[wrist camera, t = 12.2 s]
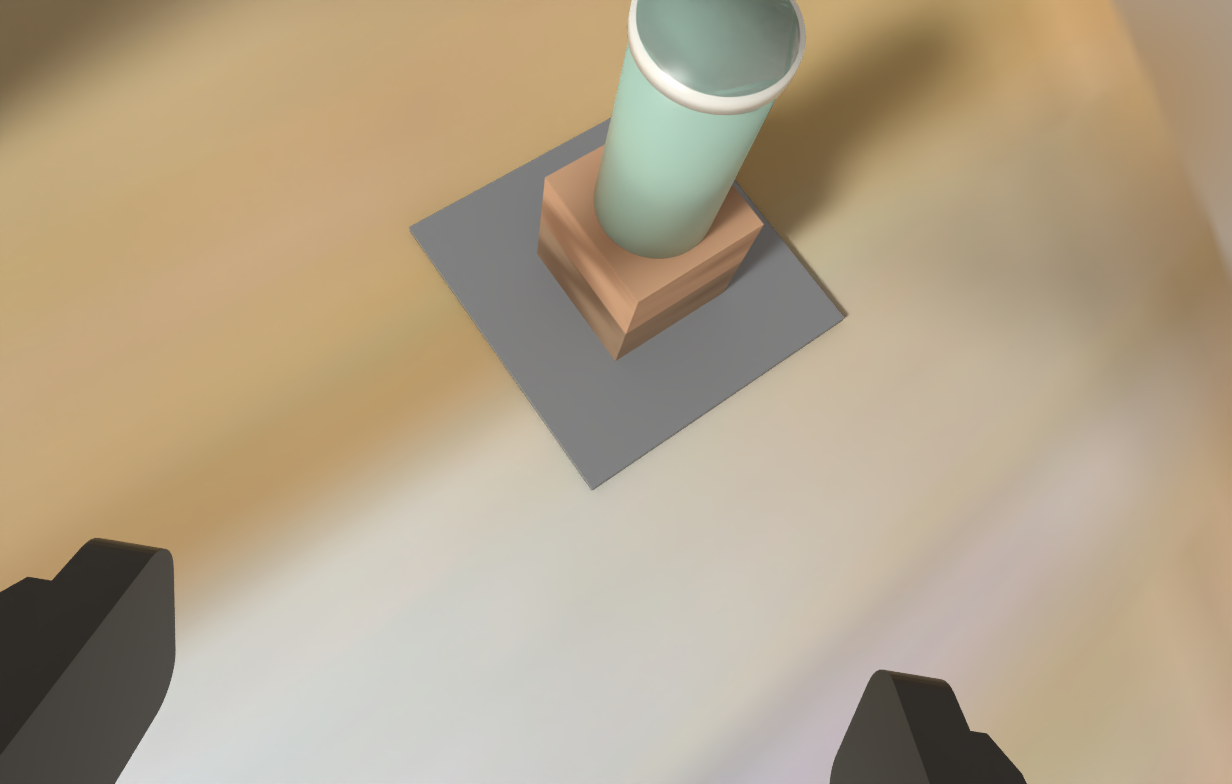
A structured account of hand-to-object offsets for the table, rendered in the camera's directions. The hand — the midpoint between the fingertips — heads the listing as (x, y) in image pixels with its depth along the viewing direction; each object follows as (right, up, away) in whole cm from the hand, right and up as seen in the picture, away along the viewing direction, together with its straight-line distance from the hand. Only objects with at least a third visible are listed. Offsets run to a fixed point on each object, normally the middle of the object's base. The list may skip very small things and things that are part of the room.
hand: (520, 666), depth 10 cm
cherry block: (+2, +9, +27) cm, 29 cm away
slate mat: (+2, +8, +30) cm, 31 cm away
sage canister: (+3, +10, +24) cm, 26 cm away
